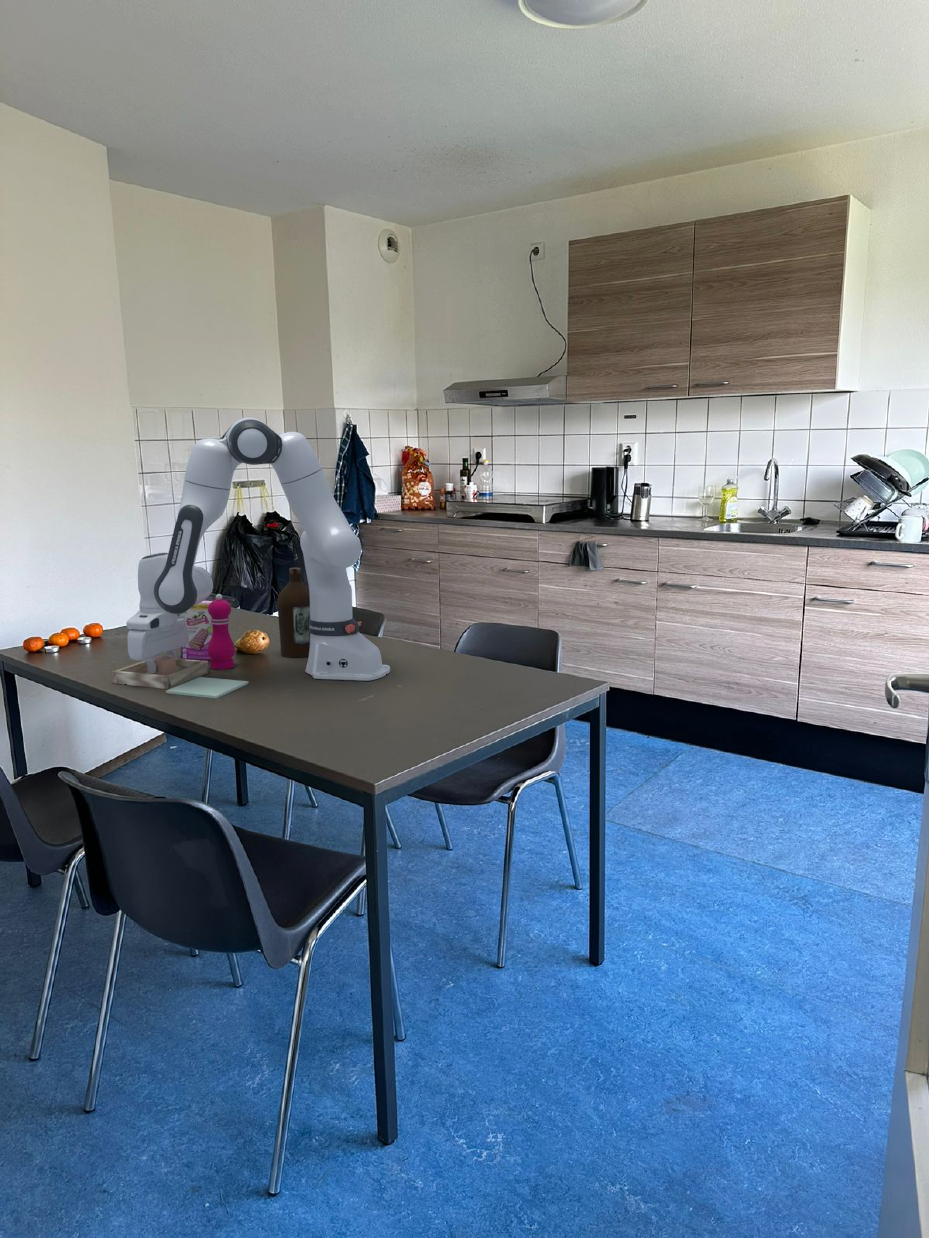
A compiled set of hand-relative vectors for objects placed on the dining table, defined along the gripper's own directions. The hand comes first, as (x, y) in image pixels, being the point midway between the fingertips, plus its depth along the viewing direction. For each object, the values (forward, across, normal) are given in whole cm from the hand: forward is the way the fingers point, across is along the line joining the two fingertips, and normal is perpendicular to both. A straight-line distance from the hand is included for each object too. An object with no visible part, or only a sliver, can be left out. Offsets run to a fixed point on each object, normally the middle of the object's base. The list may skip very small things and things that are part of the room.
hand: (161, 669), depth 222 cm
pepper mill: (+2, -15, +8) cm, 17 cm away
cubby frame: (+2, 0, 0) cm, 2 cm away
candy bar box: (+2, -21, -2) cm, 21 cm away
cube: (+2, 0, 0) cm, 2 cm away
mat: (+2, +5, +17) cm, 18 cm away
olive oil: (+2, -35, +20) cm, 40 cm away
